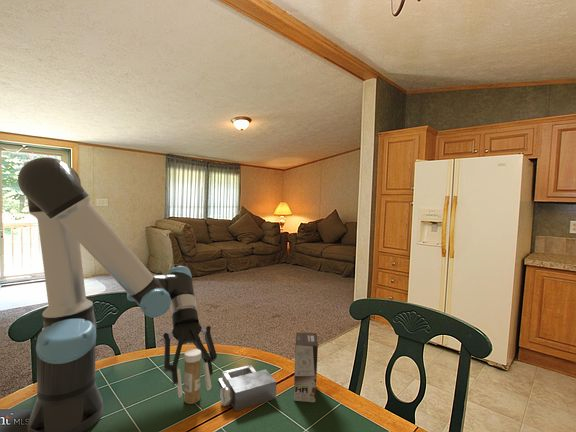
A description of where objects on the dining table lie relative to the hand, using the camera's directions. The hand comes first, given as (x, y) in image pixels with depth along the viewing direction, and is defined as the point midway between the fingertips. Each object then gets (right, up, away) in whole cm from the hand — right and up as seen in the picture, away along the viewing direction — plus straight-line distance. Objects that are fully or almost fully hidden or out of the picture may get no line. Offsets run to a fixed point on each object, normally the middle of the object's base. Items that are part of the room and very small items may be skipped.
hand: (195, 392), depth 83 cm
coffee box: (+30, -5, +8) cm, 31 cm away
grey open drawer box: (+11, -4, +8) cm, 14 cm away
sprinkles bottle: (-2, -4, +3) cm, 6 cm away
